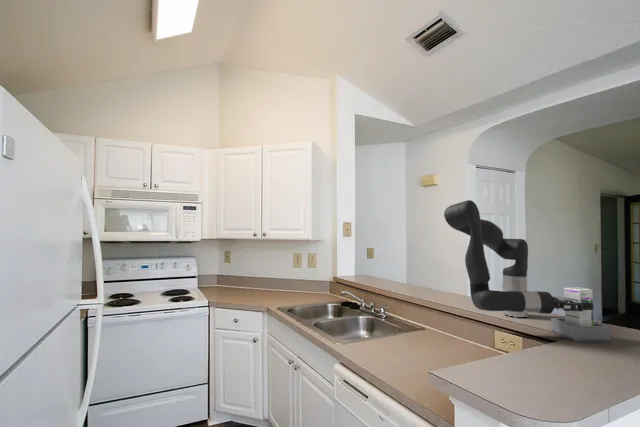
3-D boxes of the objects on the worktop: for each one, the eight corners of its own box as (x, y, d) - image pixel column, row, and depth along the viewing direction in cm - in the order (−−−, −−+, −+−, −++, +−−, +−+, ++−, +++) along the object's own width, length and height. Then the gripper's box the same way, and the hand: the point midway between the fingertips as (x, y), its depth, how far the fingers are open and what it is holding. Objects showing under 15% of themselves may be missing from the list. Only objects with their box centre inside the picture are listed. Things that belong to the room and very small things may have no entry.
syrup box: (581, 333, 117) (580, 289, 118) (564, 328, 123) (563, 286, 124) (594, 332, 118) (593, 289, 119) (577, 328, 124) (576, 286, 125)
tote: (551, 332, 126) (551, 318, 127) (584, 332, 126) (584, 318, 126) (573, 341, 115) (573, 326, 115) (610, 342, 115) (609, 327, 115)
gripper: (545, 294, 116) (599, 296, 114) (524, 288, 130) (572, 290, 128) (545, 317, 115) (600, 320, 114) (524, 308, 129) (572, 311, 128)
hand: (585, 304), depth 121 cm, fingers closed on syrup box, 7 cm apart
